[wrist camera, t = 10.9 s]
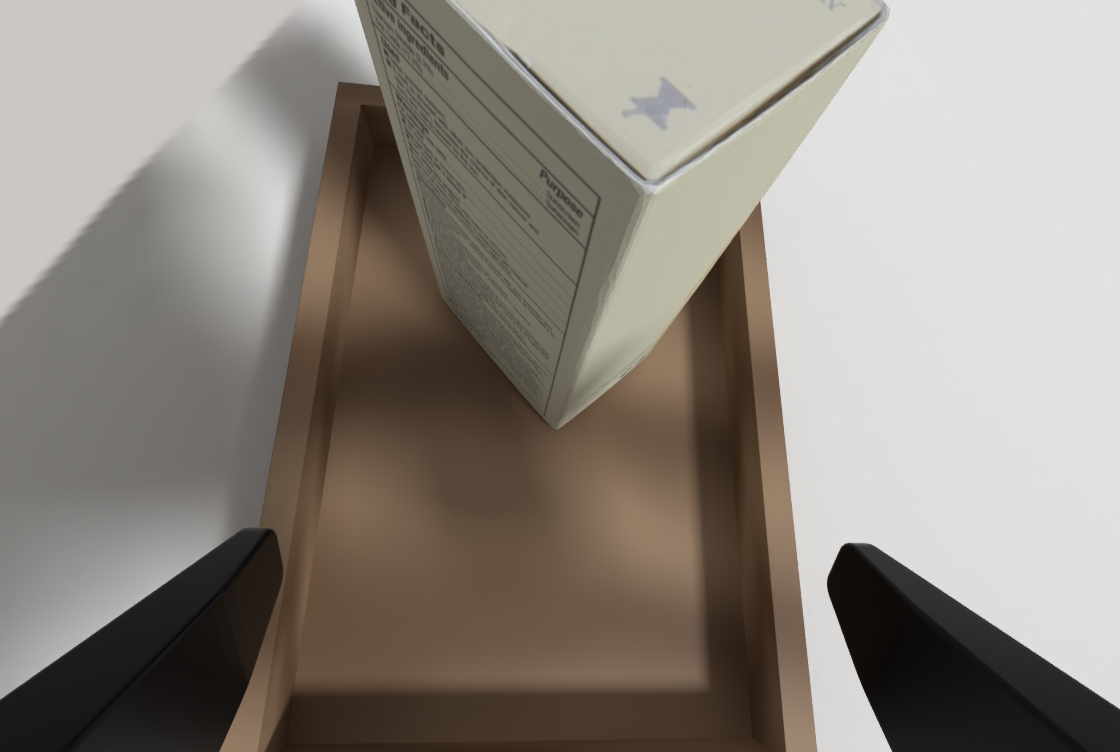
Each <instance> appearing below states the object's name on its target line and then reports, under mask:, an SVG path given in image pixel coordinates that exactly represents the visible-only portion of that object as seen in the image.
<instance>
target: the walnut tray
mask: <svg viewBox="0 0 1120 752" xmlns="http://www.w3.org/2000/svg"><path fill="white" fill-rule="evenodd" d="M260 528H270V529H273V530H274V531H275V532H276V534H277V538H278V543H279V548H280V553H281V558H282V563H283V580H282V584H281V588H280V591H279V594H278V597H277V600H276V603H275V606H274V609H273V612H272V615H271V618H270V621H269V625H268V628H267V631H266V634H265V637H264V640H263V643H262V646H261V649H260V652H259V655H258V658H257V662H256V665H255V668H254V671H253V673H252V676H251V679H250V682H249V685H248V687H247V690H246V692H245V695H244V697H243V700H242V702H241V704H240V707H239V709H238V711H237V713H236V716H235V718H234V720H233V722H232V725H231V727H230V729H229V731H228V734H227V736H226V738H225V740H224V743H223V745H222V747H221V749H220V752H817V745H816V735H815V726H814V716H813V706H812V697H811V687H810V677H809V668H808V658H807V648H806V639H805V629H804V619H803V610H802V600H801V590H800V581H799V571H798V561H797V552H796V542H795V532H794V523H793V513H792V503H791V494H790V484H789V475H788V465H787V455H786V446H785V436H784V426H783V417H782V407H781V397H780V388H779V378H778V368H777V359H776V349H775V339H774V330H773V320H772V310H771V301H770V291H769V281H768V272H767V262H766V252H765V243H764V233H763V223H762V214H761V204H760V202H759V203H758V204H757V206H756V207H755V209H754V210H753V211H752V213H751V214H750V216H749V217H748V219H747V220H746V222H745V223H744V224H743V226H742V227H741V228H740V230H739V231H738V232H737V234H736V235H735V236H734V238H733V239H732V241H731V242H730V244H729V245H728V246H727V248H726V249H725V250H724V252H723V253H722V255H721V256H720V257H719V258H718V260H717V261H716V263H715V264H714V266H713V267H712V268H711V270H710V271H709V272H708V274H707V275H706V277H705V278H704V280H703V281H702V282H701V284H700V285H699V287H698V288H697V289H696V291H695V292H694V293H693V294H692V296H691V297H690V299H689V300H688V301H687V303H686V304H685V305H684V307H683V308H682V310H681V311H680V312H679V314H678V315H677V316H676V318H675V319H674V321H673V322H672V323H671V325H670V326H669V327H668V329H667V330H666V332H665V333H664V334H663V336H662V337H661V338H660V340H659V341H658V342H657V344H656V345H655V347H654V348H653V349H652V351H651V352H650V354H649V355H648V356H647V357H646V358H644V359H643V360H642V361H641V362H640V363H639V364H638V365H636V366H635V367H634V368H633V369H632V370H631V371H630V372H629V373H627V374H626V375H625V376H624V377H623V378H622V379H620V380H619V381H618V382H617V383H616V384H614V385H613V386H612V387H611V388H610V389H608V390H607V391H606V392H605V393H603V394H602V395H601V396H600V397H599V398H597V399H596V400H595V401H594V402H593V403H591V404H590V405H589V406H587V407H586V408H585V409H584V410H582V411H581V412H580V413H579V414H577V415H576V416H575V417H574V418H572V419H571V420H570V421H568V422H567V423H566V424H565V425H563V426H562V427H561V428H559V429H557V430H556V429H553V428H552V427H551V426H550V425H549V424H548V423H547V422H546V421H545V420H544V419H543V417H542V416H541V415H540V414H539V413H538V412H537V411H536V410H535V409H534V407H533V406H532V405H531V404H530V403H529V402H528V401H527V400H526V398H525V397H524V396H523V395H522V394H521V392H520V391H519V390H518V389H517V388H516V387H515V386H514V384H513V383H512V382H511V381H510V380H509V379H508V377H507V376H506V375H505V374H504V372H503V371H502V370H501V369H500V368H499V366H498V365H497V364H496V363H495V362H494V361H493V360H492V358H491V357H490V356H489V355H488V354H487V352H486V351H485V350H484V349H483V347H482V346H481V345H480V344H479V343H478V341H477V340H476V339H475V338H474V336H473V335H472V334H471V333H470V332H469V330H468V329H467V328H466V327H465V325H464V324H463V323H462V322H461V320H460V319H459V318H458V317H457V315H456V314H455V313H454V312H453V311H452V309H451V308H450V307H449V305H448V304H447V303H446V302H445V300H444V299H443V298H442V296H441V294H440V291H439V287H438V284H437V280H436V277H435V273H434V270H433V266H432V263H431V259H430V256H429V252H428V249H427V246H426V242H425V239H424V235H423V232H422V229H421V225H420V222H419V218H418V215H417V212H416V208H415V205H414V201H413V198H412V195H411V191H410V188H409V184H408V181H407V177H406V174H405V171H404V167H403V164H402V160H401V157H400V153H399V150H398V147H397V143H396V140H395V136H394V133H393V129H392V126H391V122H390V119H389V115H388V112H387V108H386V105H385V101H384V98H383V95H382V91H381V88H380V86H373V85H363V84H354V83H344V82H338V88H337V93H336V99H335V105H334V110H333V116H332V122H331V127H330V133H329V139H328V144H327V150H326V155H325V161H324V167H323V172H322V178H321V184H320V189H319V195H318V201H317V206H316V212H315V218H314V223H313V229H312V234H311V240H310V246H309V251H308V257H307V263H306V268H305V274H304V280H303V285H302V291H301V296H300V302H299V308H298V313H297V319H296V325H295V330H294V336H293V342H292V347H291V353H290V359H289V364H288V370H287V375H286V381H285V387H284V392H283V398H282V404H281V409H280V415H279V421H278V426H277V432H276V438H275V443H274V449H273V454H272V460H271V466H270V471H269V477H268V483H267V488H266V494H265V500H264V505H263V511H262V516H261V522H260Z"/></svg>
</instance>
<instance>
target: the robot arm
mask: <svg viewBox="0 0 1120 752" xmlns="http://www.w3.org/2000/svg"><path fill="white" fill-rule="evenodd" d="M282 580H283V563H282V558H281V553H280V548H279V543H278V538H277V534H276V532H275V531H274V530H273V529H270V528H245V529H243V530H241V531H239V532H238V533H236V534H235V535H233V536H232V537H230V538H229V539H228V540H226V541H225V542H223V543H222V544H221V545H219V546H218V547H216V548H215V549H213V550H212V551H211V552H209V553H208V554H206V555H205V556H204V557H202V558H201V559H199V560H198V561H196V562H195V563H194V564H192V565H191V566H189V567H188V568H186V569H185V570H184V571H182V572H181V573H179V574H178V575H177V576H175V577H174V578H172V579H171V580H169V581H168V582H167V583H165V584H164V585H162V586H161V587H160V588H158V589H157V590H155V591H154V592H152V593H151V594H150V595H148V596H147V597H145V598H144V599H142V600H141V601H140V602H138V603H137V604H135V605H134V606H133V607H131V608H130V609H128V610H127V611H125V612H124V613H123V614H121V615H120V616H118V617H117V618H115V619H114V620H113V621H111V622H110V623H108V624H107V625H106V626H104V627H103V628H101V629H100V630H98V631H97V632H96V633H94V634H93V635H91V636H90V637H89V638H87V639H86V640H84V641H83V642H81V643H80V644H79V645H77V646H76V647H74V648H73V649H71V650H70V651H69V652H67V653H66V654H64V655H63V656H62V657H60V658H59V659H57V660H56V661H54V662H53V663H52V664H50V665H49V666H47V667H46V668H44V669H43V670H42V671H40V672H39V673H37V674H36V675H35V676H33V677H32V678H30V679H29V680H27V681H26V682H25V683H23V684H22V685H20V686H19V687H18V688H16V689H15V690H13V691H12V692H10V693H9V694H8V695H6V696H5V697H3V698H2V699H0V752H220V749H221V747H222V745H223V743H224V740H225V738H226V736H227V734H228V731H229V729H230V727H231V725H232V722H233V720H234V718H235V716H236V713H237V711H238V709H239V707H240V704H241V702H242V700H243V697H244V695H245V692H246V690H247V687H248V685H249V682H250V679H251V676H252V673H253V671H254V668H255V665H256V662H257V658H258V655H259V652H260V649H261V646H262V643H263V640H264V637H265V634H266V631H267V628H268V625H269V621H270V618H271V615H272V612H273V609H274V606H275V603H276V600H277V597H278V594H279V591H280V588H281V584H282ZM827 589H828V593H829V596H830V599H831V602H832V605H833V608H834V610H835V613H836V616H837V619H838V622H839V624H840V627H841V630H842V633H843V635H844V638H845V641H846V644H847V647H848V649H849V652H850V655H851V658H852V661H853V663H854V666H855V669H856V672H857V674H858V677H859V679H860V682H861V684H862V687H863V689H864V691H865V694H866V696H867V698H868V701H869V703H870V705H871V707H872V709H873V711H874V713H875V716H876V718H877V720H878V722H879V724H880V726H881V729H882V731H883V733H884V735H885V737H886V739H887V741H888V744H889V746H890V748H891V750H892V752H1120V709H1119V708H1117V707H1116V706H1114V705H1113V704H1111V703H1110V702H1108V701H1107V700H1105V699H1104V698H1102V697H1101V696H1099V695H1098V694H1096V693H1095V692H1093V691H1092V690H1090V689H1089V688H1087V687H1086V686H1084V685H1083V684H1081V683H1080V682H1078V681H1077V680H1075V679H1074V678H1072V677H1071V676H1069V675H1068V674H1066V673H1065V672H1063V671H1062V670H1060V669H1059V668H1057V667H1056V666H1054V665H1053V664H1051V663H1050V662H1048V661H1047V660H1045V659H1044V658H1042V657H1041V656H1039V655H1038V654H1036V653H1035V652H1033V651H1032V650H1030V649H1029V648H1027V647H1026V646H1024V645H1023V644H1021V643H1020V642H1018V641H1017V640H1015V639H1014V638H1012V637H1011V636H1009V635H1008V634H1006V633H1004V632H1003V631H1001V630H1000V629H998V628H997V627H995V626H994V625H992V624H991V623H989V622H988V621H986V620H985V619H983V618H982V617H980V616H979V615H977V614H976V613H974V612H973V611H971V610H970V609H968V608H967V607H965V606H964V605H962V604H961V603H959V602H958V601H956V600H955V599H953V598H952V597H950V596H949V595H947V594H946V593H944V592H943V591H941V590H940V589H938V588H937V587H935V586H934V585H932V584H931V583H929V582H928V581H926V580H925V579H923V578H922V577H920V576H919V575H917V574H916V573H914V572H913V571H911V570H910V569H908V568H907V567H905V566H904V565H902V564H901V563H899V562H898V561H896V560H895V559H893V558H892V557H890V556H889V555H887V554H886V553H884V552H883V551H881V550H880V549H878V548H877V547H875V546H873V545H871V544H867V543H846V544H844V545H843V546H842V547H841V549H840V551H839V553H838V555H837V557H836V560H835V562H834V564H833V566H832V569H831V571H830V573H829V575H828V579H827Z"/></svg>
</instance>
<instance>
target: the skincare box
mask: <svg viewBox="0 0 1120 752" xmlns="http://www.w3.org/2000/svg"><path fill="white" fill-rule="evenodd" d="M355 3H356V7H357V10H358V13H359V17H360V20H361V23H362V27H363V30H364V33H365V37H366V40H367V44H368V47H369V50H370V54H371V57H372V60H373V64H374V67H375V70H376V74H377V77H378V81H379V84H380V88H381V91H382V95H383V98H384V101H385V105H386V108H387V112H388V115H389V119H390V122H391V126H392V129H393V133H394V136H395V140H396V143H397V147H398V150H399V153H400V157H401V160H402V164H403V167H404V171H405V174H406V177H407V181H408V184H409V188H410V191H411V195H412V198H413V201H414V205H415V208H416V212H417V215H418V218H419V222H420V225H421V229H422V232H423V235H424V239H425V242H426V246H427V249H428V252H429V256H430V259H431V263H432V266H433V270H434V273H435V277H436V280H437V284H438V287H439V291H440V294H441V296H442V298H443V299H444V300H445V302H446V303H447V304H448V305H449V307H450V308H451V309H452V311H453V312H454V313H455V314H456V315H457V317H458V318H459V319H460V320H461V322H462V323H463V324H464V325H465V327H466V328H467V329H468V330H469V332H470V333H471V334H472V335H473V336H474V338H475V339H476V340H477V341H478V343H479V344H480V345H481V346H482V347H483V349H484V350H485V351H486V352H487V354H488V355H489V356H490V357H491V358H492V360H493V361H494V362H495V363H496V364H497V365H498V366H499V368H500V369H501V370H502V371H503V372H504V374H505V375H506V376H507V377H508V379H509V380H510V381H511V382H512V383H513V384H514V386H515V387H516V388H517V389H518V390H519V391H520V392H521V394H522V395H523V396H524V397H525V398H526V400H527V401H528V402H529V403H530V404H531V405H532V406H533V407H534V409H535V410H536V411H537V412H538V413H539V414H540V415H541V416H542V417H543V419H544V420H545V421H546V422H547V423H548V424H549V425H550V426H551V427H552V428H553V429H556V430H557V429H559V428H561V427H562V426H563V425H565V424H566V423H567V422H568V421H570V420H571V419H572V418H574V417H575V416H576V415H577V414H579V413H580V412H581V411H582V410H584V409H585V408H586V407H587V406H589V405H590V404H591V403H593V402H594V401H595V400H596V399H597V398H599V397H600V396H601V395H602V394H603V393H605V392H606V391H607V390H608V389H610V388H611V387H612V386H613V385H614V384H616V383H617V382H618V381H619V380H620V379H622V378H623V377H624V376H625V375H626V374H627V373H629V372H630V371H631V370H632V369H633V368H634V367H635V366H636V365H638V364H639V363H640V362H641V361H642V360H643V359H644V358H646V357H647V356H648V355H649V354H650V352H651V351H652V349H653V348H654V347H655V345H656V344H657V342H658V341H659V340H660V338H661V337H662V336H663V334H664V333H665V332H666V330H667V329H668V327H669V326H670V325H671V323H672V322H673V321H674V319H675V318H676V316H677V315H678V314H679V312H680V311H681V310H682V308H683V307H684V305H685V304H686V303H687V301H688V300H689V299H690V297H691V296H692V294H693V293H694V292H695V291H696V289H697V288H698V287H699V285H700V284H701V282H702V281H703V280H704V278H705V277H706V275H707V274H708V272H709V271H710V270H711V268H712V267H713V266H714V264H715V263H716V261H717V260H718V258H719V257H720V256H721V255H722V253H723V252H724V250H725V249H726V248H727V246H728V245H729V244H730V242H731V241H732V239H733V238H734V236H735V235H736V234H737V232H738V231H739V230H740V228H741V227H742V226H743V224H744V223H745V222H746V220H747V219H748V217H749V216H750V214H751V213H752V211H753V210H754V209H755V207H756V206H757V204H758V203H759V202H760V200H761V199H762V197H763V196H764V195H765V193H766V192H767V191H768V189H769V188H770V186H771V185H772V184H773V182H774V181H775V180H776V178H777V177H778V175H779V174H780V172H781V171H782V170H783V168H784V167H785V165H786V164H787V162H788V161H789V160H790V158H791V157H792V155H793V154H794V153H795V151H796V150H797V148H798V147H799V146H800V144H801V143H802V141H803V140H804V139H805V137H806V136H807V135H808V133H809V132H810V130H811V129H812V127H813V126H814V125H815V123H816V122H817V120H818V119H819V117H820V116H821V115H822V113H823V112H824V110H825V109H826V107H827V106H828V105H829V103H830V102H831V100H832V99H833V97H834V96H835V95H836V93H837V92H838V90H839V89H840V87H841V86H842V85H843V83H844V82H845V80H846V79H847V77H848V76H849V75H850V73H851V72H852V70H853V69H854V68H855V66H856V65H857V63H858V62H859V61H860V59H861V58H862V56H863V55H864V53H865V52H866V51H867V49H868V48H869V46H870V45H871V43H872V42H873V41H874V39H875V38H876V36H877V35H878V33H879V32H880V30H881V29H882V28H883V26H884V25H885V23H886V21H887V20H888V18H889V12H890V9H889V7H888V6H887V4H886V3H884V2H883V1H882V0H355Z"/></svg>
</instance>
